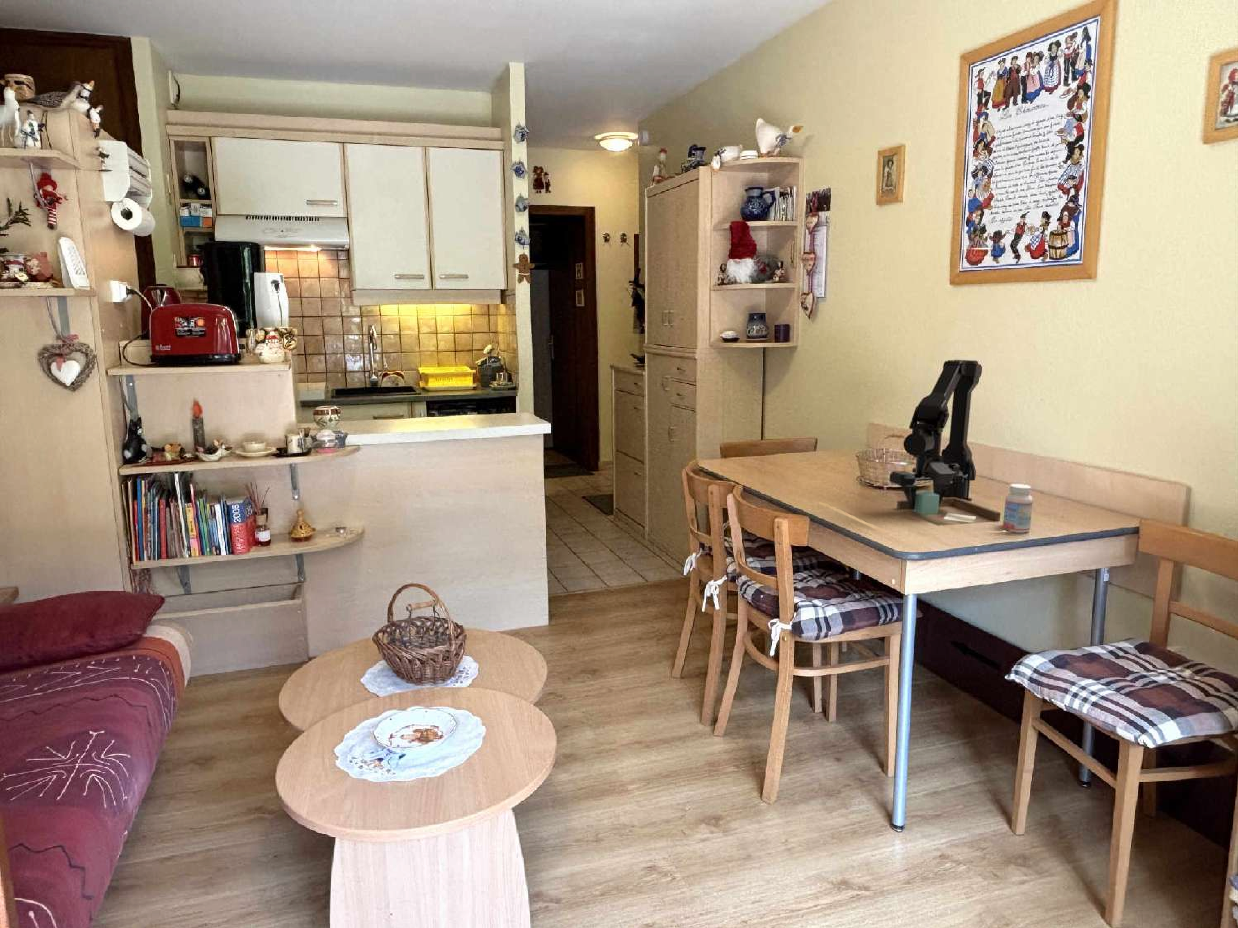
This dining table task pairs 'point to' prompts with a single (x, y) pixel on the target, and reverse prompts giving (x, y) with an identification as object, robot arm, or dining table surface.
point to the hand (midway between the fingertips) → (924, 508)
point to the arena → (954, 512)
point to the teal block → (926, 503)
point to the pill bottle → (1018, 509)
